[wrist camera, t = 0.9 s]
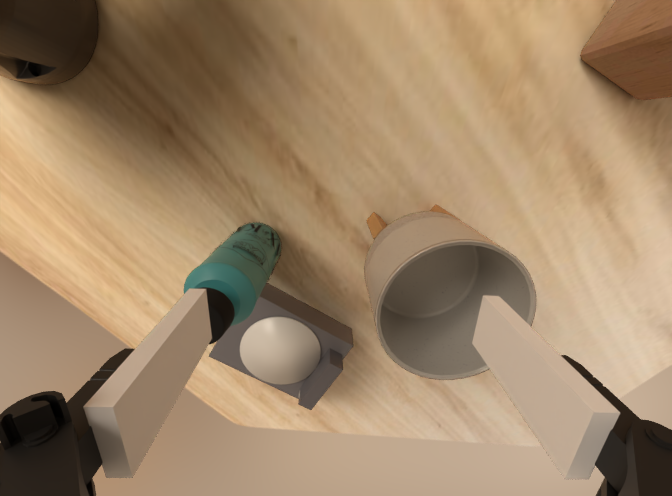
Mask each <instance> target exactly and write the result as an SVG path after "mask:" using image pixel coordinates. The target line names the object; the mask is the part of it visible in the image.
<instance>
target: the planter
mask: <svg viewBox="0 0 672 496" xmlns="http://www.w3.org/2000/svg"><path fill="white" fill-rule="evenodd" d="M367 224H368V226H369V229H370V231H371V234H372V236H373V239H374V241H373V243H372V244H371V246H370V248H369V251H368V253H367V256H366V260H365V267H364V273H365V281H366V285H367V290H368V294H369V298H370V303H371V307H372V312H373V316H374V321H375V325H376V329H377V334H378V338H379V340H380V342H381V345H382V347H383V348H384V350H385V351H386V353H387V354H388V355H389V356H390V358H391V359H392V360H393V361H394V362H395V363H397V364H398V365H399V366H401V367H402V368H404V369H405V370H407V371H409V372H411V373H413V374H416V375H418V376H421V377H425V378H429V379H437V380H454V379H462V378H466V377H470V376H474V375H477V374H480V373H482V372H485V371H487V370H489V367H488V366H487V364H486V363H485V361H484V360H483V358H482V357H481V355H480V354H479V353H478V351H477V350H476V348H475V347H474V345H473V344H472V341H473V337H474V333H475V328H476V324H477V320H478V315H479V311H480V306H481V302H482V298H483V295H487V296H499V297H500V298H502V299H503V300H504V301H505V302H506V303H507V304H508V305H509V306H510V307H511V308H512V309H513V310H514V311H515V312H516V313H517V314H518V315H519V316H520V317H521V318H522V319H523V320H524V321H525V322H526V323H528V324H529V325H530V326H531V325H532V322H533V319H534V316H535V310H536V292H535V287H534V283H533V281H532V278H531V276H530V274H529V272H528V271H527V269H526V268H525V266H524V265H523V264H522V263H521V262H520V261H519V260H518V259H517V258H516V257H515V256H514V255H512V254H511V253H509V252H508V251H507V250H505V249H504V248H502V247H500V246H499V245H497V244H496V243H494V242H493V241H491V240H490V239H488V238H487V237H485V236H484V235H482V234H480V233H479V232H477V231H476V230H474V229H473V228H471V227H470V226H468V225H467V224H465V223H463V222H462V221H461V220H460V219H458V218H456V217H455V216H453V215H452V214H450V213H449V212H447V211H446V210H444V209H442V208H441V207H439V206H438V205H435V206H434V207H433V208H432V209H431V211H427V212H417V213H412V214H409V215H406V216H403V217H401V218H399V219H397V220H395V221H394V222H392V223H391V224H389V225H387V224H386V223H385V222H384V221H383V220H382V219H381V217H379V216H378V215H377V214H376V213H374V212H373V213H372V215H371V216H370V217H369V218H368V219H367Z"/></svg>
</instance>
